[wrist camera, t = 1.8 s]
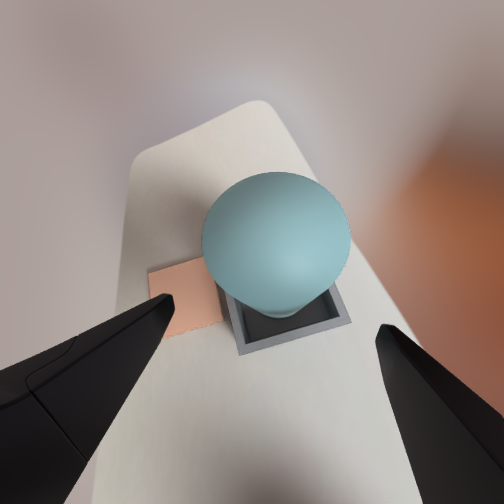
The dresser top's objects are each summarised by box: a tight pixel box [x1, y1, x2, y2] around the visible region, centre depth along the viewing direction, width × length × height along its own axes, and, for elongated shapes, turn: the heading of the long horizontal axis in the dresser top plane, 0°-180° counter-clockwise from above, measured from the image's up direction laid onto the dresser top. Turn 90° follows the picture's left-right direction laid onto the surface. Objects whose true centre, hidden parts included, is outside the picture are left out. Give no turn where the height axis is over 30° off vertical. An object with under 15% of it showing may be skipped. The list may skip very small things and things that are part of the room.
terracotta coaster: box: [148, 257, 225, 339], centre depth 20 cm, size 6×6×1 cm
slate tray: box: [224, 282, 352, 356], centre depth 18 cm, size 8×8×3 cm
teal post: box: [202, 172, 351, 319], centre depth 13 cm, size 5×5×12 cm
